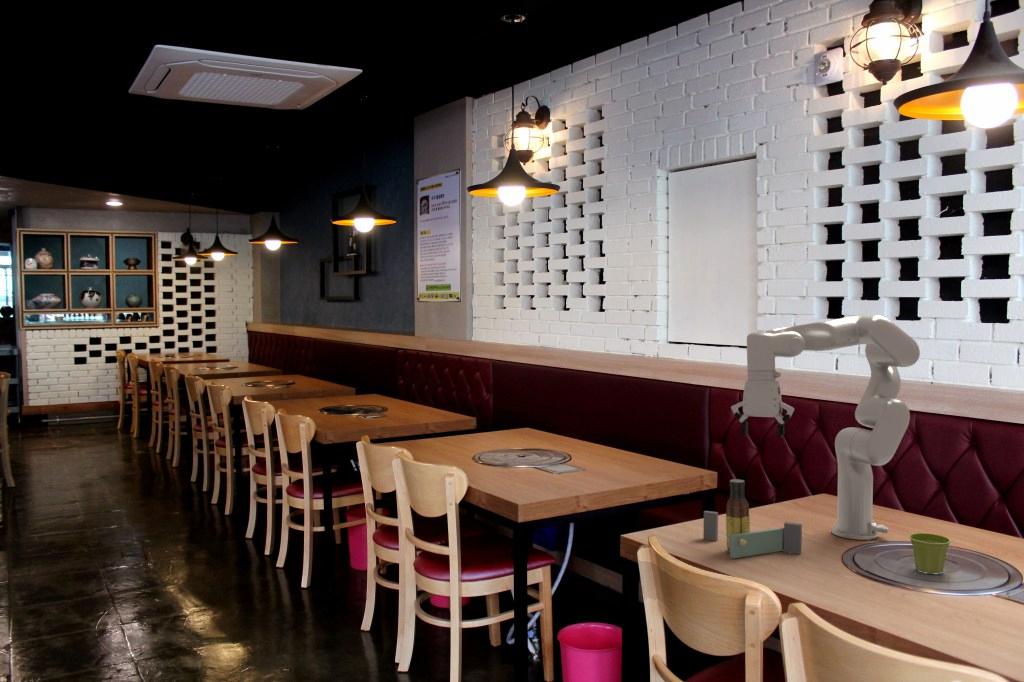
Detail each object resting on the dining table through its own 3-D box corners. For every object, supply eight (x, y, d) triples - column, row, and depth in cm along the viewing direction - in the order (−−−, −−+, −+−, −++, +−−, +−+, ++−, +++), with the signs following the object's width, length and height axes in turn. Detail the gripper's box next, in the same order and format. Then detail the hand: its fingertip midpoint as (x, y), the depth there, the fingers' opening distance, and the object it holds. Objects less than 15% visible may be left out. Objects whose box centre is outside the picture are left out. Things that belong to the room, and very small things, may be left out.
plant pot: (934, 580, 198) (935, 545, 197) (900, 569, 206) (901, 535, 206) (958, 574, 202) (959, 540, 201) (924, 563, 210) (924, 531, 210)
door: (782, 548, 222) (782, 527, 222) (788, 551, 220) (789, 529, 220) (729, 557, 215) (729, 535, 214) (736, 560, 212) (736, 537, 212)
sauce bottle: (746, 549, 223) (748, 478, 222) (752, 556, 217) (753, 483, 216) (723, 548, 223) (724, 477, 223) (728, 555, 217) (729, 482, 216)
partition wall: (801, 553, 219) (801, 523, 219) (800, 554, 218) (800, 525, 218) (705, 537, 234) (705, 510, 234) (703, 539, 233) (703, 511, 232)
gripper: (796, 375, 225) (797, 436, 226) (734, 374, 234) (735, 432, 235) (790, 378, 219) (791, 440, 219) (727, 377, 228) (728, 437, 228)
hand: (762, 436), depth 227 cm, fingers open, 9 cm apart
